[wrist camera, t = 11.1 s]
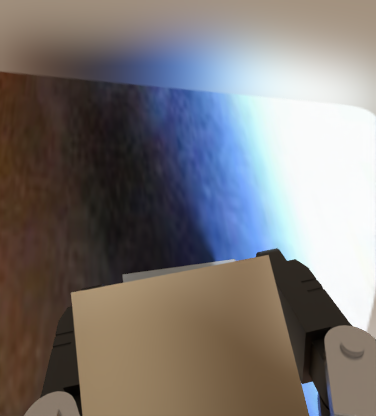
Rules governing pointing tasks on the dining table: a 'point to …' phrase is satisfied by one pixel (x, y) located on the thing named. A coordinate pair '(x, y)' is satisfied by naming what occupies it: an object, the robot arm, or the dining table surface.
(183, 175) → the dining table surface
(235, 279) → the maple block
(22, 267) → the dining table surface
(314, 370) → the robot arm
